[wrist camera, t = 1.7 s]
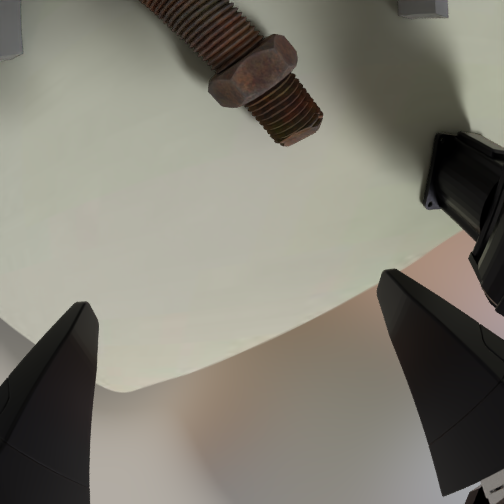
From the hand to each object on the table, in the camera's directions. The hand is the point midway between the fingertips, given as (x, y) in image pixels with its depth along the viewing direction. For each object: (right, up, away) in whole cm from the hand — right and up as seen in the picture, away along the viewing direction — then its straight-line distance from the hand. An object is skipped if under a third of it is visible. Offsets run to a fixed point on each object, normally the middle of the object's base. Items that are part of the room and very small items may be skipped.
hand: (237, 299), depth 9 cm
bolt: (-2, +14, +5) cm, 15 cm away
